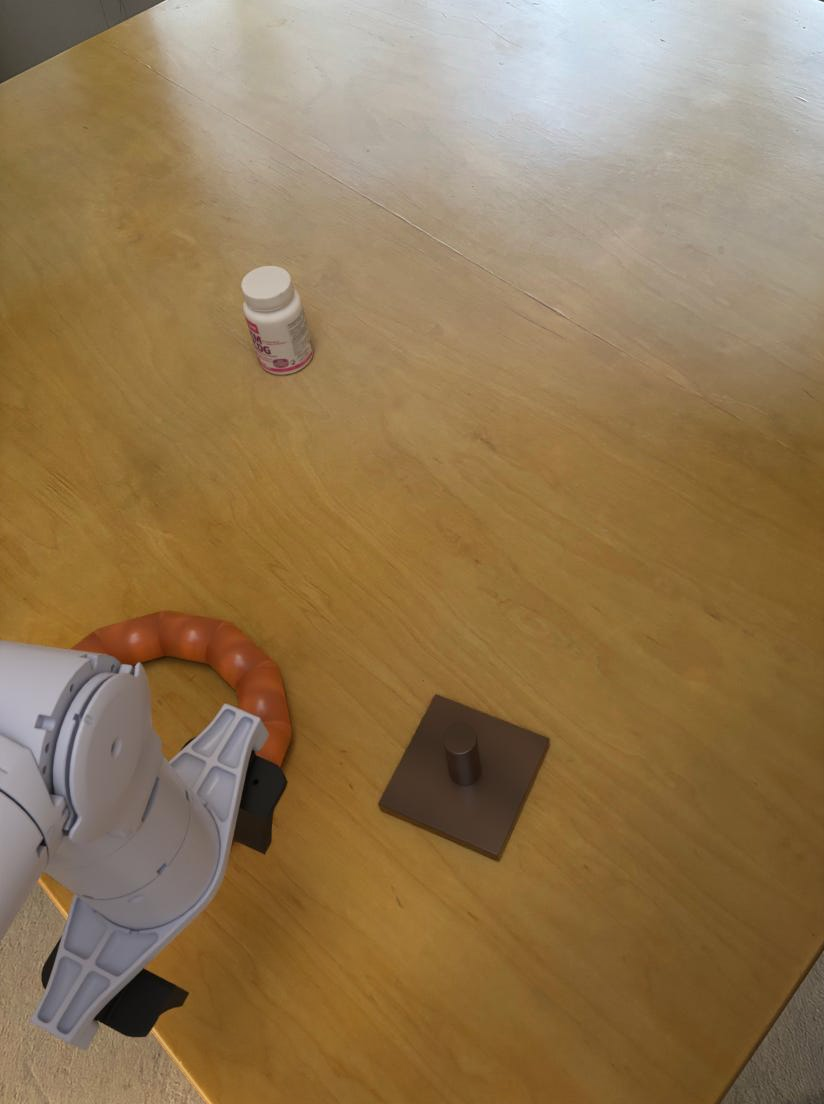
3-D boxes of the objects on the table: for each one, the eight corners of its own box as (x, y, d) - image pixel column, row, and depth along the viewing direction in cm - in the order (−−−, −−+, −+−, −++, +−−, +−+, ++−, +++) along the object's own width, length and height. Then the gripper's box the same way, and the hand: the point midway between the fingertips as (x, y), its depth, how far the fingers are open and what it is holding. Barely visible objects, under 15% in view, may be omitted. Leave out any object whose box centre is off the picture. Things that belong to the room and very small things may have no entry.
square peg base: (498, 862, 63) (494, 827, 59) (379, 810, 66) (367, 772, 61) (550, 745, 68) (549, 704, 63) (436, 700, 70) (428, 658, 66)
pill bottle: (248, 369, 91) (224, 293, 84) (275, 332, 94) (254, 256, 87) (297, 382, 90) (277, 306, 83) (324, 344, 92) (306, 268, 86)
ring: (229, 923, 62) (216, 906, 60) (-44, 856, 65) (-66, 838, 63) (329, 653, 73) (321, 630, 71) (91, 608, 76) (76, 585, 74)
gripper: (141, 636, 47) (221, 752, 58) (-85, 963, 40) (57, 1027, 50) (278, 693, 45) (335, 803, 56) (68, 1050, 37) (181, 1097, 48)
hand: (211, 913), depth 53 cm, fingers open, 7 cm apart
